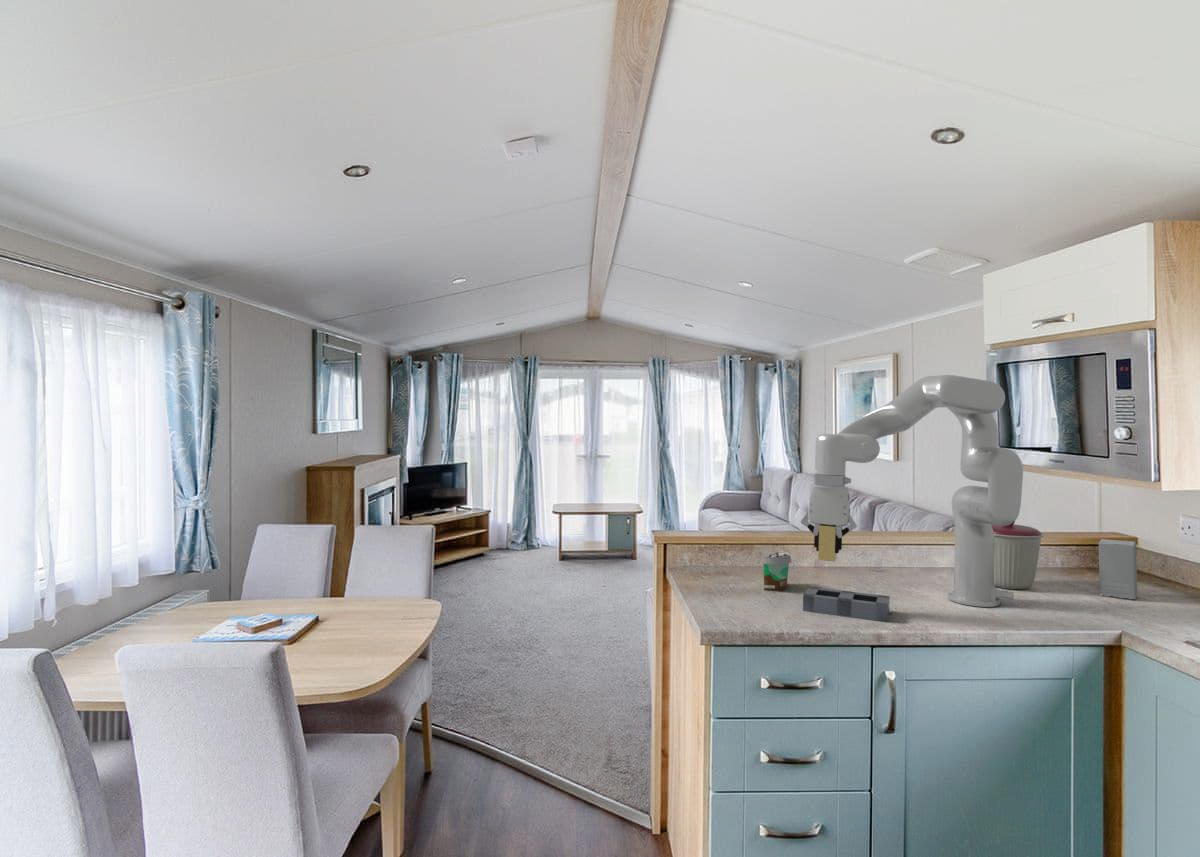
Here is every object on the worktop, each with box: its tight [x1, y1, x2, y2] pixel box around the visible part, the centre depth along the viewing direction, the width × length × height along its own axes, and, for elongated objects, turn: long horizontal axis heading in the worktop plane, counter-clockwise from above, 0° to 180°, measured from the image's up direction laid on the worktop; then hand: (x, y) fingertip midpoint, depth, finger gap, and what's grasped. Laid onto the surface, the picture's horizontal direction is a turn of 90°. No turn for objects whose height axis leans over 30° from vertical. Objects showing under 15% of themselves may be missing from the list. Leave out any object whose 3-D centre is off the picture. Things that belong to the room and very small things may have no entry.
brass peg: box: [817, 525, 838, 563], centre depth 172 cm, size 4×4×9 cm
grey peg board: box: [802, 586, 891, 623], centre depth 171 cm, size 20×10×4 cm, turn 63°
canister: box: [991, 520, 1045, 590], centre depth 199 cm, size 18×18×21 cm
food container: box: [762, 549, 792, 592], centre depth 193 cm, size 12×6×10 cm, turn 148°
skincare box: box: [1098, 538, 1138, 600], centre depth 188 cm, size 8×7×16 cm
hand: (827, 550), depth 173 cm, fingers closed on brass peg, 4 cm apart
